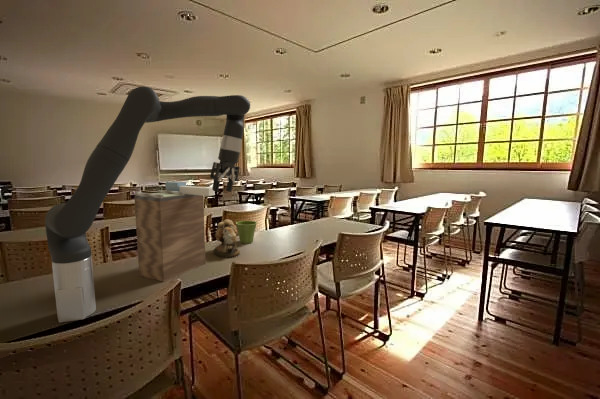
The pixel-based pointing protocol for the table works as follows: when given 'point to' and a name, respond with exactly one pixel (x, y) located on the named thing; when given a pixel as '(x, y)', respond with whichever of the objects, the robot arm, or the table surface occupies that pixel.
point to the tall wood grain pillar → (169, 233)
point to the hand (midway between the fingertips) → (222, 191)
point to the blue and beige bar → (188, 189)
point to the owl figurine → (226, 240)
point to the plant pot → (246, 231)
